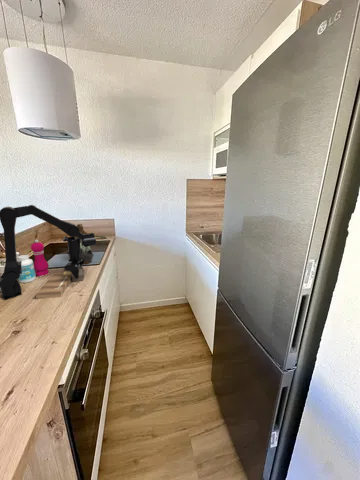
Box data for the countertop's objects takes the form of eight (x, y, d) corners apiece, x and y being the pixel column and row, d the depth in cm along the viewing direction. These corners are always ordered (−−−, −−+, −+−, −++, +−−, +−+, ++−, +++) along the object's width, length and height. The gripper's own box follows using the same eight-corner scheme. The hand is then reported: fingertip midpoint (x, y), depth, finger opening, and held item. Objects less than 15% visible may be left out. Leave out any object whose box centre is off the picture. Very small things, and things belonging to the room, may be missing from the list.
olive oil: (72, 262, 136) (67, 224, 129) (89, 258, 143) (84, 222, 136) (79, 266, 128) (73, 226, 122) (95, 262, 136) (91, 224, 129)
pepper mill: (52, 271, 121) (47, 238, 116) (43, 276, 114) (37, 241, 109) (41, 271, 122) (35, 237, 116) (31, 276, 115) (24, 241, 109)
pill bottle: (16, 284, 105) (10, 259, 102) (22, 278, 112) (17, 254, 109) (33, 282, 107) (28, 257, 104) (38, 276, 114) (33, 253, 111)
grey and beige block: (82, 280, 109) (81, 269, 108) (64, 282, 107) (62, 271, 106) (84, 277, 113) (83, 266, 112) (66, 278, 111) (64, 268, 110)
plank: (61, 296, 94) (60, 291, 93) (36, 299, 92) (35, 293, 91) (74, 275, 116) (74, 271, 115) (55, 277, 114) (54, 272, 113)
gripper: (87, 253, 99) (91, 283, 103) (94, 242, 117) (97, 268, 121) (61, 254, 97) (66, 285, 101) (73, 243, 114) (76, 270, 119)
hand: (78, 276), depth 110 cm, fingers closed on grey and beige block, 4 cm apart
